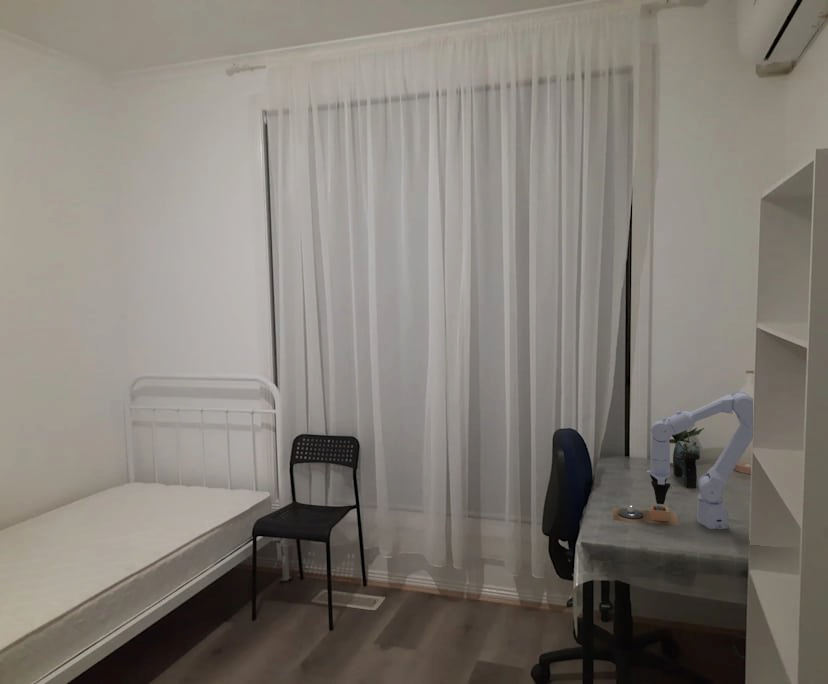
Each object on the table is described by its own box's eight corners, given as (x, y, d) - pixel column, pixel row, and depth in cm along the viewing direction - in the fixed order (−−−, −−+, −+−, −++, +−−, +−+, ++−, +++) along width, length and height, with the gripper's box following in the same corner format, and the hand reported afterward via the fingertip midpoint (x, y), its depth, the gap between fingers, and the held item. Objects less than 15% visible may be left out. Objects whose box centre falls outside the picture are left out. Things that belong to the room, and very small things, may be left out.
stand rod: (662, 516, 205) (662, 506, 205) (662, 518, 203) (663, 508, 203) (655, 516, 206) (656, 505, 205) (656, 518, 204) (656, 507, 203)
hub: (642, 512, 209) (643, 502, 209) (643, 520, 202) (643, 510, 202) (618, 510, 212) (618, 500, 212) (618, 517, 205) (618, 508, 204)
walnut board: (676, 517, 208) (676, 512, 208) (679, 530, 197) (679, 526, 197) (613, 511, 215) (613, 507, 214) (612, 524, 203) (612, 519, 203)
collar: (667, 515, 206) (667, 506, 206) (668, 521, 201) (669, 512, 201) (650, 513, 208) (650, 505, 207) (650, 519, 203) (650, 510, 202)
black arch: (700, 489, 236) (702, 437, 235) (682, 489, 237) (683, 437, 236) (684, 474, 256) (685, 425, 254) (667, 474, 257) (668, 425, 255)
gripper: (646, 452, 211) (645, 492, 212) (647, 463, 197) (647, 506, 198) (668, 453, 209) (668, 493, 210) (672, 465, 195) (671, 508, 196)
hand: (659, 500), depth 204 cm, fingers open, 7 cm apart
